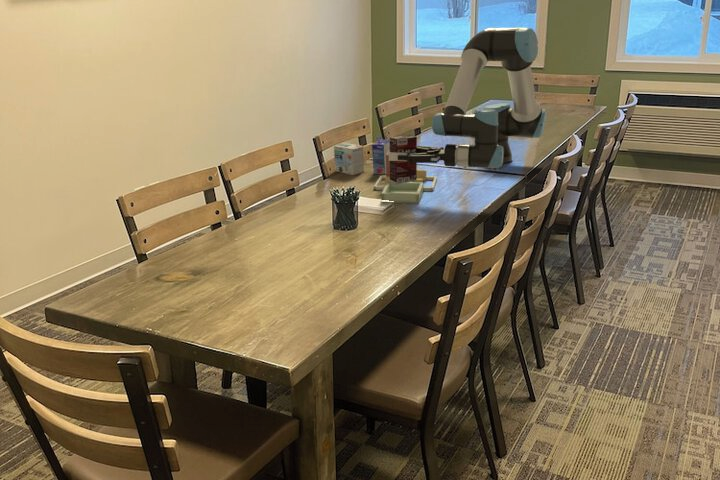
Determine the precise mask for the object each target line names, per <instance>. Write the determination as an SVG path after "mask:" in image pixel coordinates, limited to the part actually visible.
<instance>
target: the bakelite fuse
mask: <svg viewBox="0 0 720 480" xmlns="http://www.w3.org/2000/svg"><path fill="white" fill-rule="evenodd" d="M389 152H390V151H388V153H387V154H386V174H385V176H386V177H390V161H389Z"/></svg>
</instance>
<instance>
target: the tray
mask: <svg viewBox="0 0 720 480" xmlns="http://www.w3.org/2000/svg"><path fill="white" fill-rule="evenodd" d="M384 186H385V188H384V190H381V191H382V192H381V193H380V194H381V196H380V197H381V200H389V201H394V202H395V203H394V204H420V202H421V199H422V196H423V193H424V191H423V187H424V182H423V183H420V182H407V183H401V184H394V183H392V182H388V183H387V184H386V183H385V185H384Z"/></svg>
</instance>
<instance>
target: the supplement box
mask: <svg viewBox="0 0 720 480" xmlns="http://www.w3.org/2000/svg"><path fill="white" fill-rule="evenodd" d="M417 138H418V137H417V136H415V135H413V134H412V135H411V134H408V135H400V136H392V137H391V136H390V137H389V140H390V152H393V153H407V152H409V154H415V153H417V146H418V139H417ZM411 159H412V158H411ZM417 164H418V163H408V162H407V161H390V182H392V183H394V184H401V183H407V182H413V181H417V170H418V168H417V166H418V165H417Z"/></svg>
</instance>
